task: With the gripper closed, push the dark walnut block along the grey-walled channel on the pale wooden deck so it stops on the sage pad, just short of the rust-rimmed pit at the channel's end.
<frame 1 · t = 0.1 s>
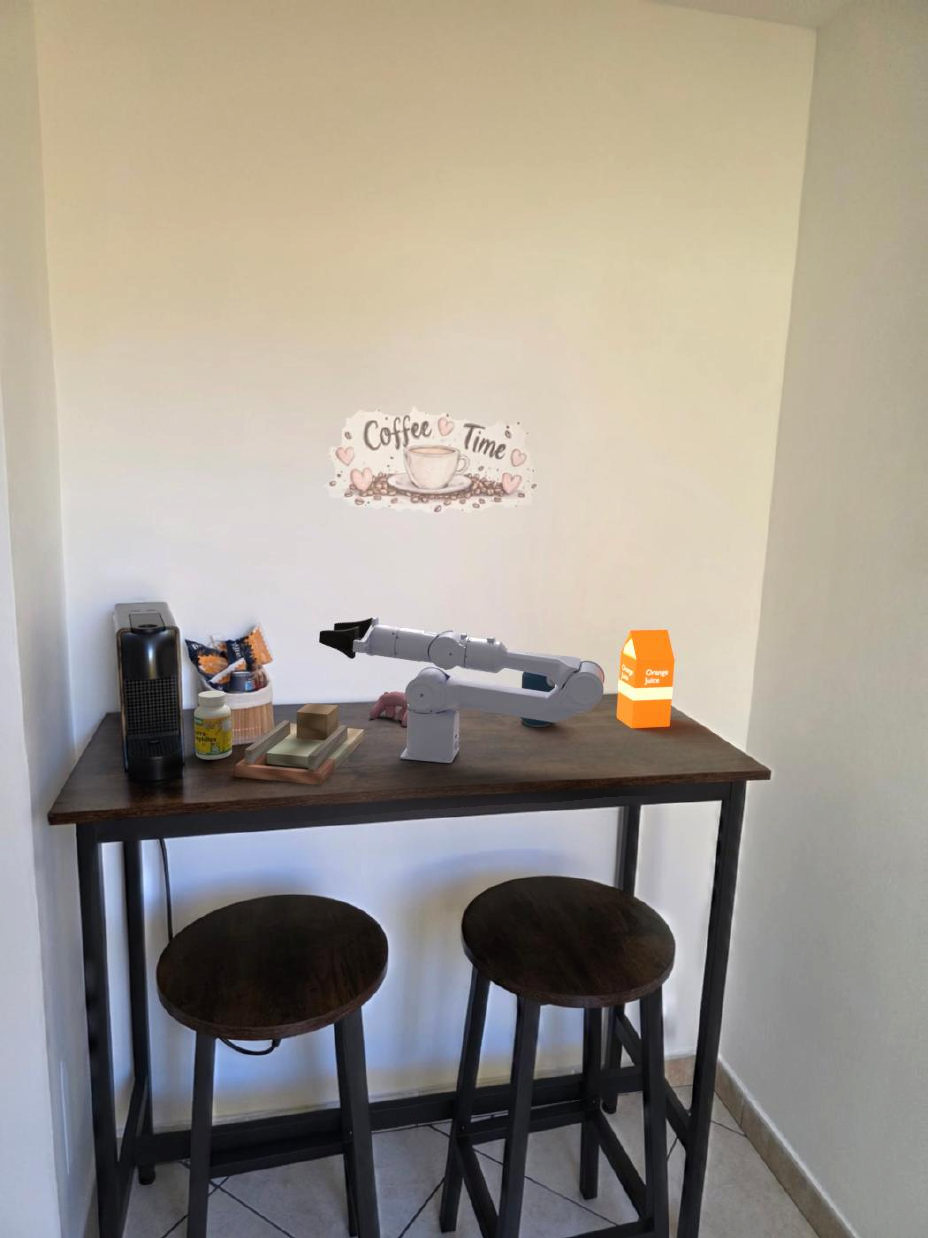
hand: (327, 632, 152), 22 cm above the table, tool horizontal, fingers open, 7 cm apart
supplement bottle: (213, 755, 150), on the table
orange juice: (642, 722, 177), on the table
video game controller: (395, 721, 173), on the table
walnut block: (317, 734, 156), point 2 cm above the table, touching channel deck
soda can: (536, 723, 174), on the table
channel deck: (304, 756, 150), on the table
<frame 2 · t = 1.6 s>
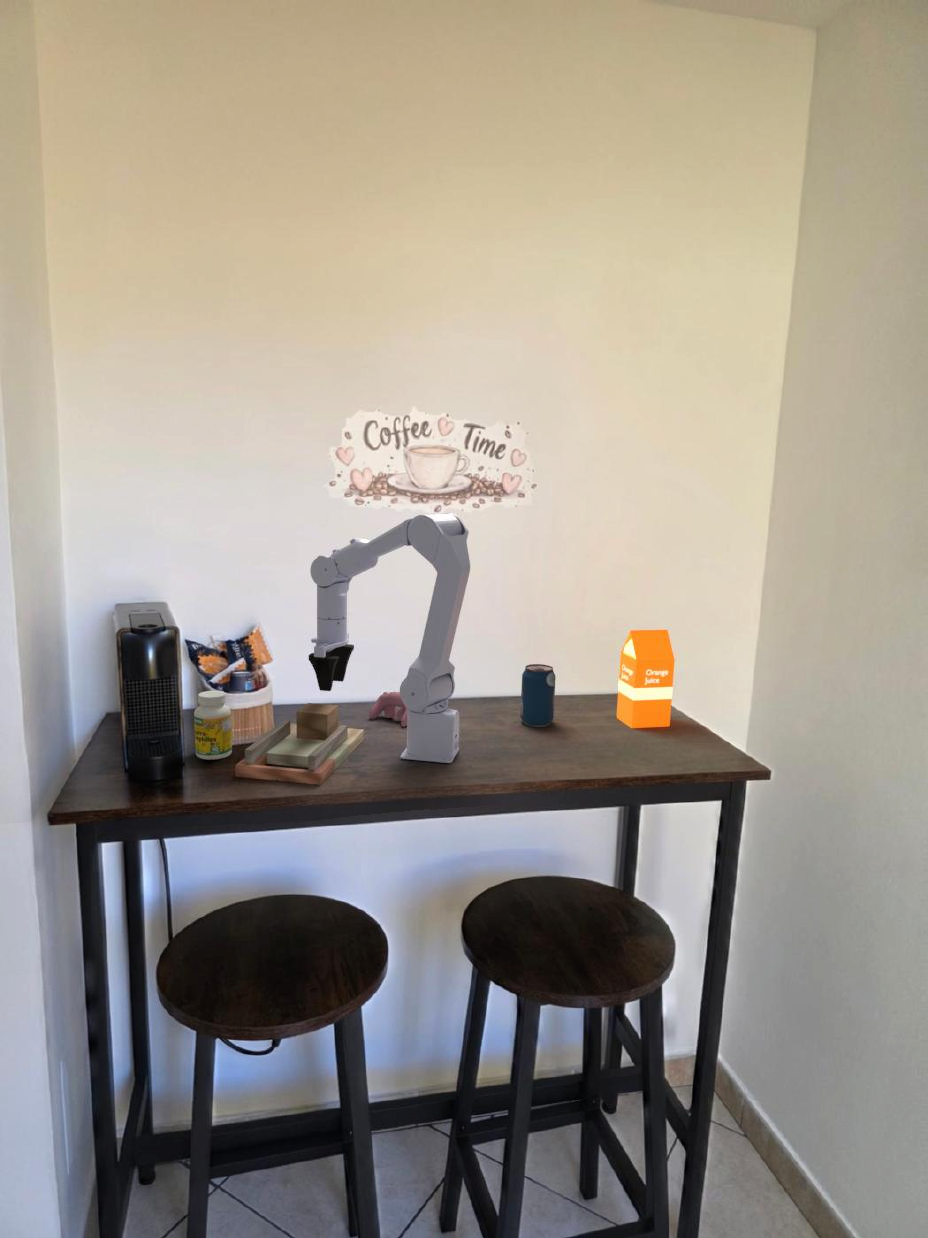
hand: (331, 685, 162), 9 cm above the table, tool pointing down, fingers open, 7 cm apart
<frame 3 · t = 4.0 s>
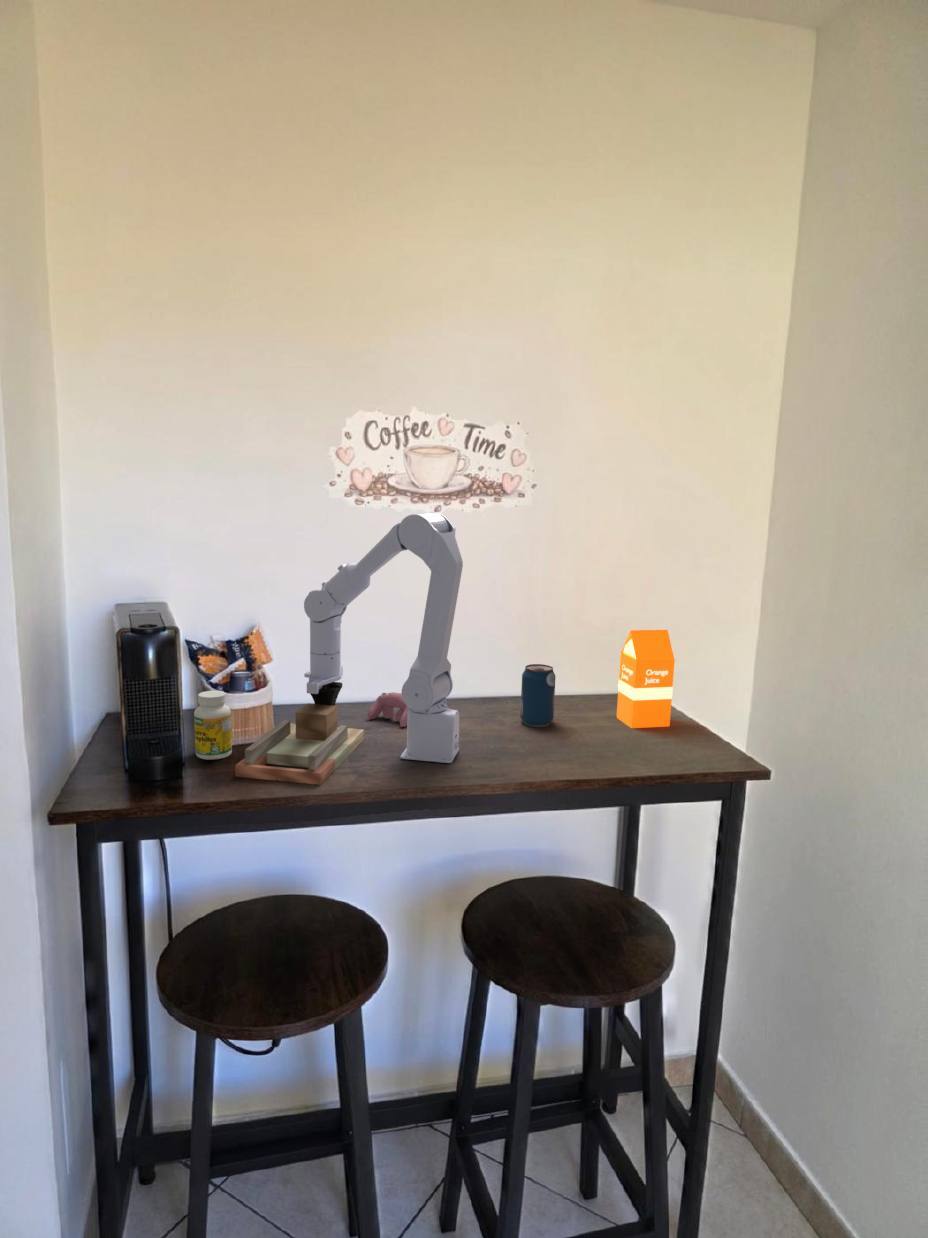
hand: (325, 720, 160), 3 cm above the table, tool pointing down, fingers closed
walnut block: (316, 734, 156), point 2 cm above the table, touching channel deck, gripper
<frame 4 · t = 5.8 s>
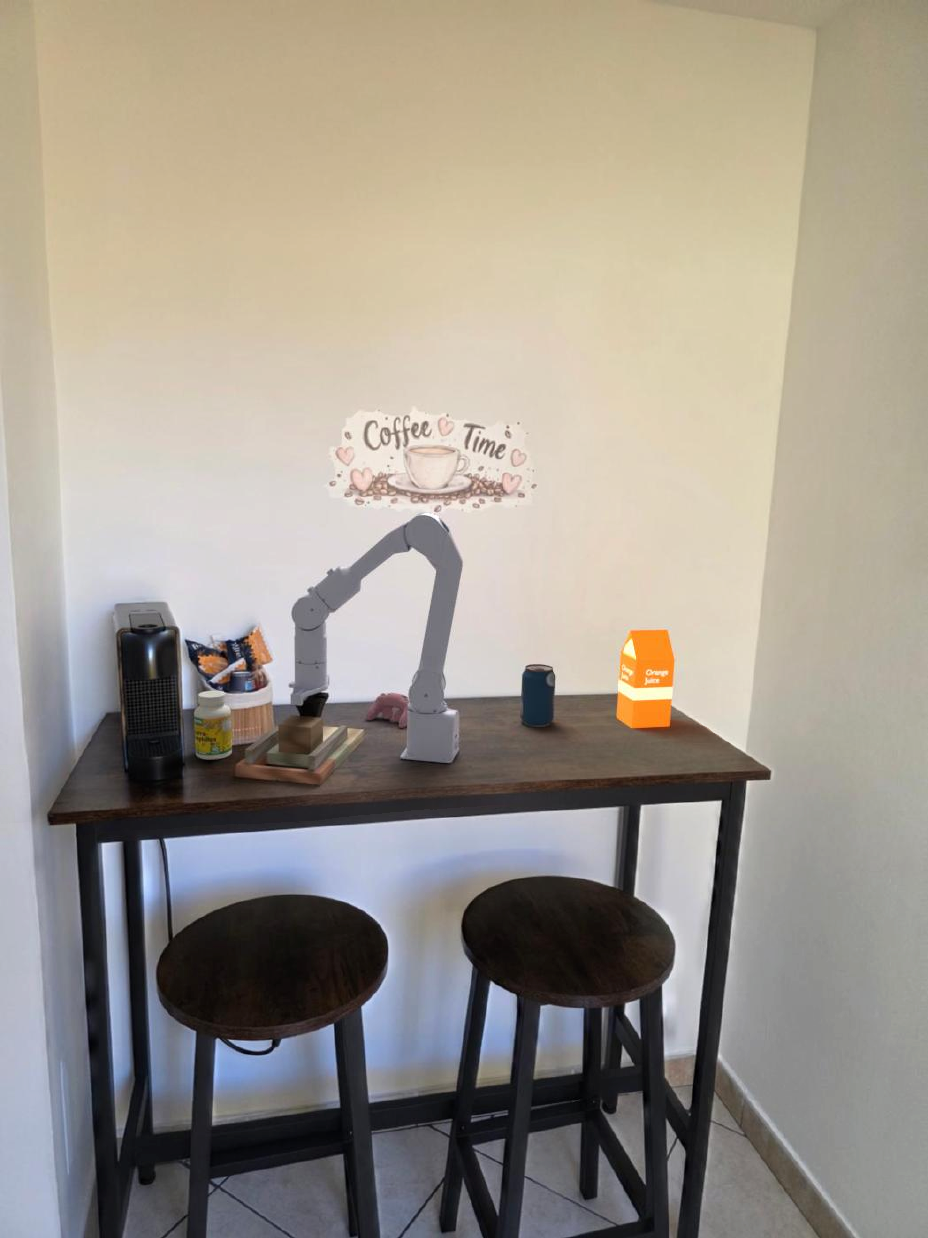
hand: (310, 732, 152), 3 cm above the table, tool pointing down, fingers closed
walnut block: (301, 748, 148), point 2 cm above the table, touching channel deck, gripper
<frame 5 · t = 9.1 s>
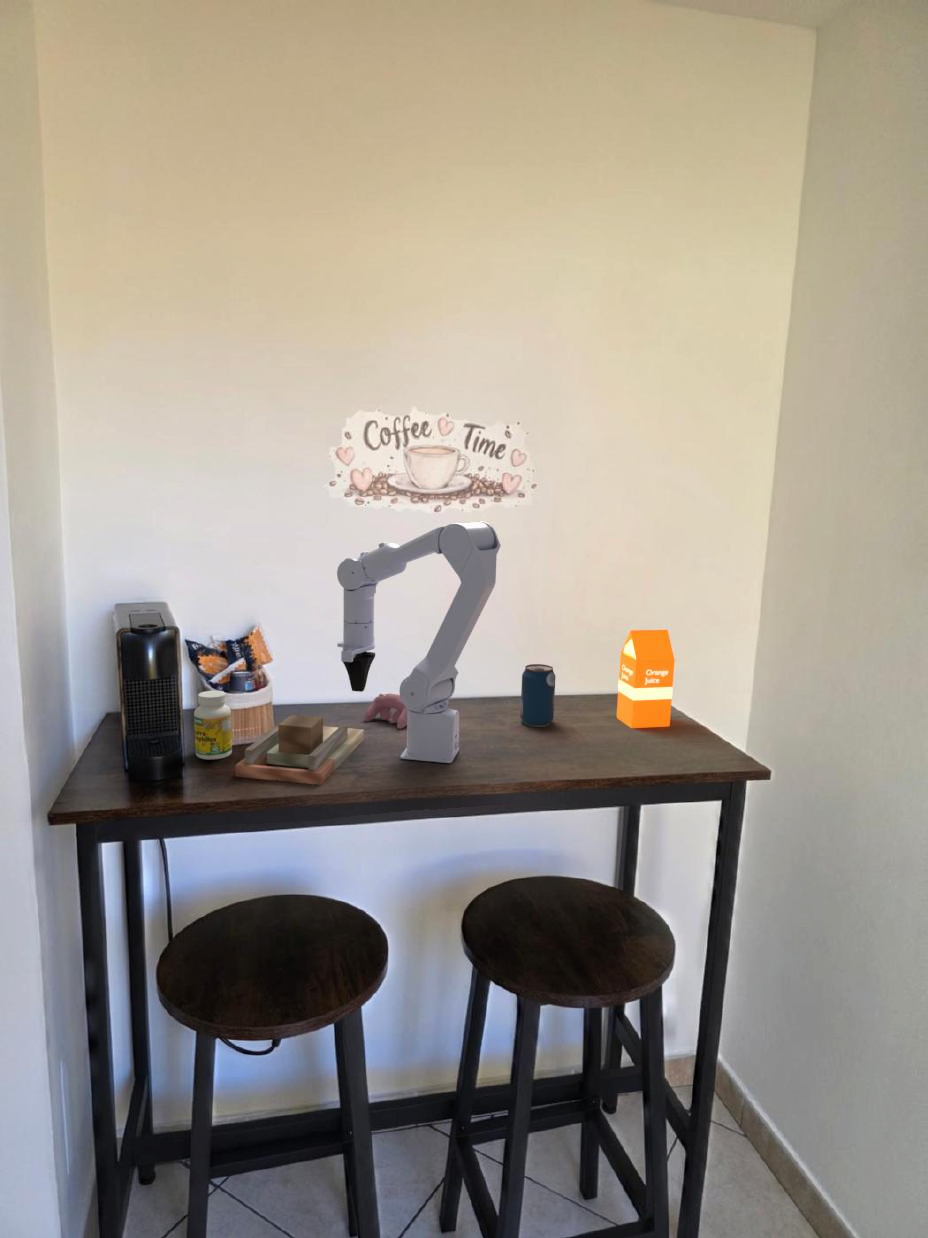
hand: (358, 690, 160), 9 cm above the table, tool pointing down, fingers closed
walnut block: (301, 748, 148), point 2 cm above the table, touching channel deck
at the end: walnut block inside the target area (0.4 cm from its centre), point 2.0 cm above the table; walnut block tilted 0° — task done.
